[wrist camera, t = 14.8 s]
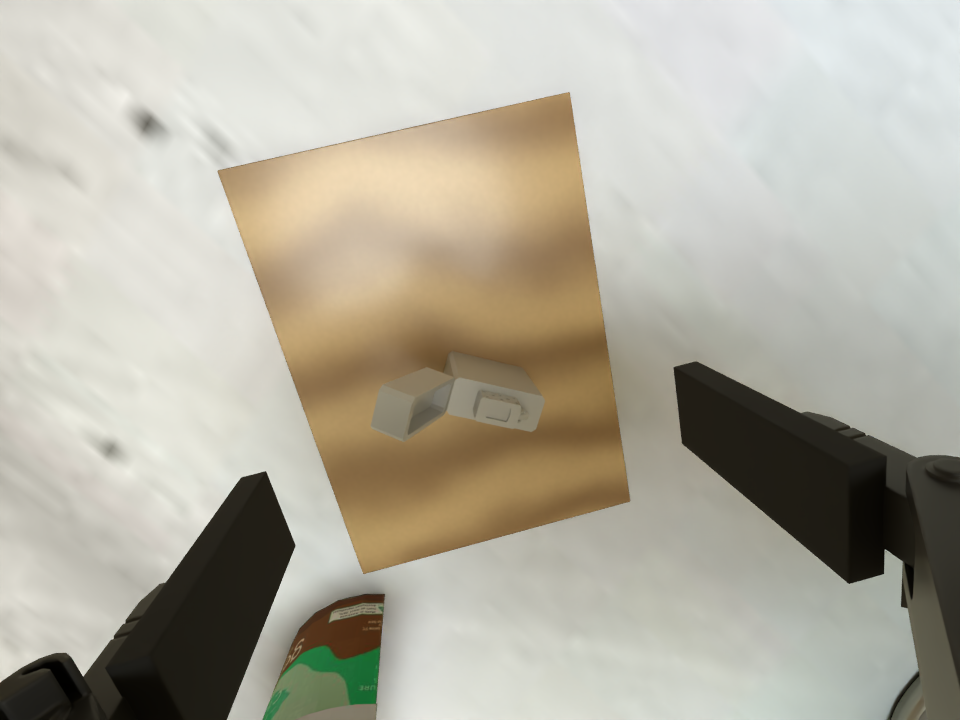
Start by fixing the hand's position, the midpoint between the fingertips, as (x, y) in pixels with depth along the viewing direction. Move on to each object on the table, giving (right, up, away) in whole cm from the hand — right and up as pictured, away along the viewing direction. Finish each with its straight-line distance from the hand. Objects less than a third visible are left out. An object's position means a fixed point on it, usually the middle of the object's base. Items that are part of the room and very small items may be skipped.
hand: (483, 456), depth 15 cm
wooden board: (-1, +3, +10) cm, 10 cm away
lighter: (-1, +3, +10) cm, 10 cm away
